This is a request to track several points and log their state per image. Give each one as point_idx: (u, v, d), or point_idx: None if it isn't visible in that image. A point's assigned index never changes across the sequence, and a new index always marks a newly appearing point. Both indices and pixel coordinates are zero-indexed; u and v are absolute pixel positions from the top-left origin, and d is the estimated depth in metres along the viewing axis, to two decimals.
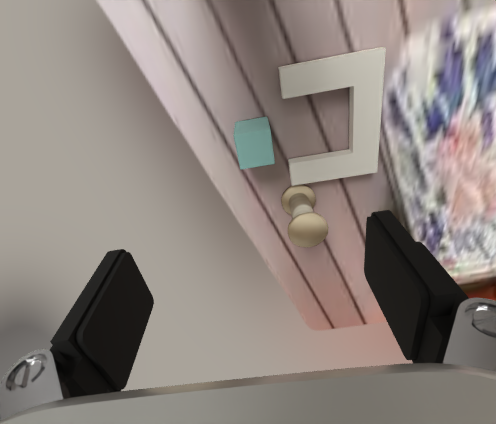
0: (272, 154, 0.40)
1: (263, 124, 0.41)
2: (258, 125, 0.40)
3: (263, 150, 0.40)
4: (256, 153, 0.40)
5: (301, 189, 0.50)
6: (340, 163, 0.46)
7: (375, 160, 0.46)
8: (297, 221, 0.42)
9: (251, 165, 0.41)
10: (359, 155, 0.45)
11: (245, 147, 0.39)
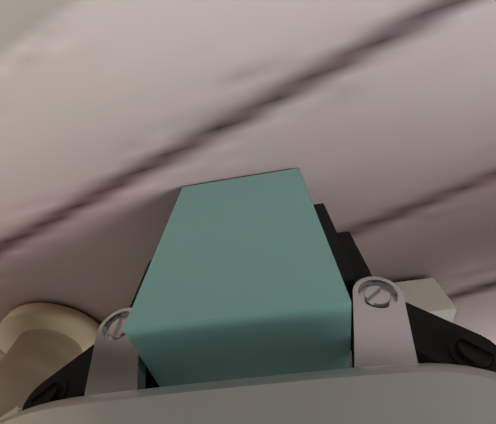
0: None
1: None
2: None
3: None
4: None
5: None
6: None
7: None
8: None
9: (162, 367, 0.07)
10: None
11: (268, 349, 0.07)
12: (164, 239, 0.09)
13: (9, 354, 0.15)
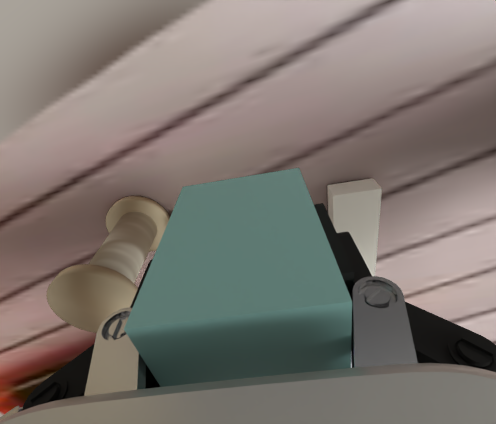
0: None
1: None
2: None
3: None
4: None
5: (164, 229, 0.27)
6: None
7: None
8: (115, 286, 0.18)
9: (162, 367, 0.07)
10: None
11: (269, 349, 0.07)
12: (164, 239, 0.09)
13: (120, 221, 0.25)
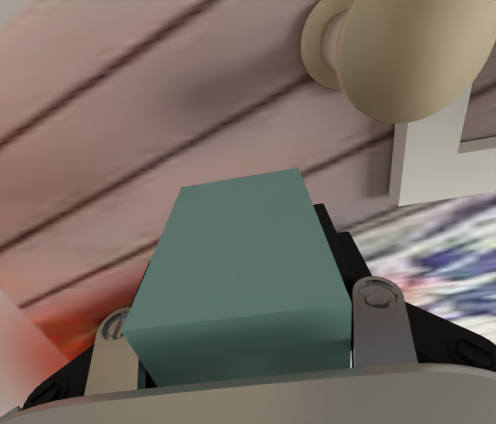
0: None
1: None
2: None
3: None
4: None
5: None
6: (442, 132, 0.21)
7: (425, 198, 0.24)
8: None
9: (160, 369, 0.07)
10: (447, 167, 0.23)
11: (268, 351, 0.07)
12: (163, 240, 0.09)
13: (347, 10, 0.17)
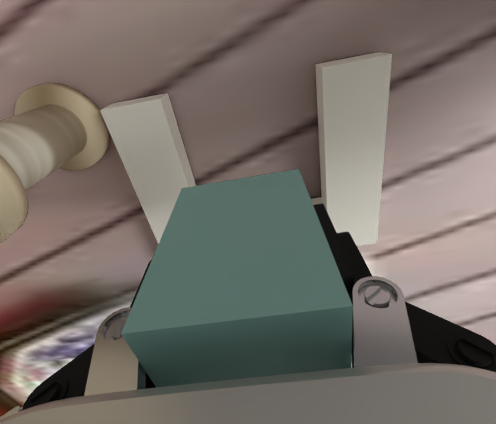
0: None
1: None
2: None
3: None
4: None
5: (96, 134, 0.20)
6: None
7: None
8: None
9: (161, 372, 0.07)
10: None
11: (268, 354, 0.07)
12: (163, 241, 0.09)
13: (27, 111, 0.18)
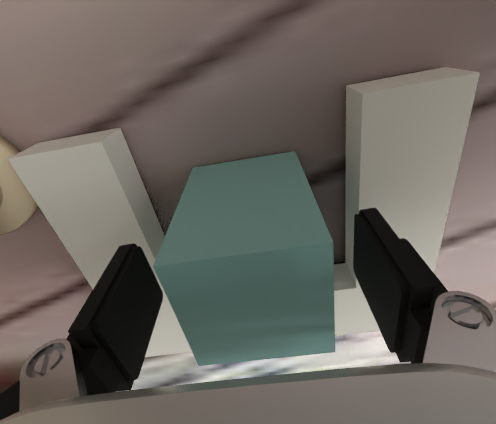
0: (236, 359, 0.10)
1: None
2: None
3: (251, 337, 0.10)
4: (237, 318, 0.09)
5: (15, 188, 0.14)
6: None
7: (167, 351, 0.18)
8: None
9: (181, 303, 0.09)
10: (174, 323, 0.17)
11: (268, 286, 0.08)
12: (180, 206, 0.11)
13: None
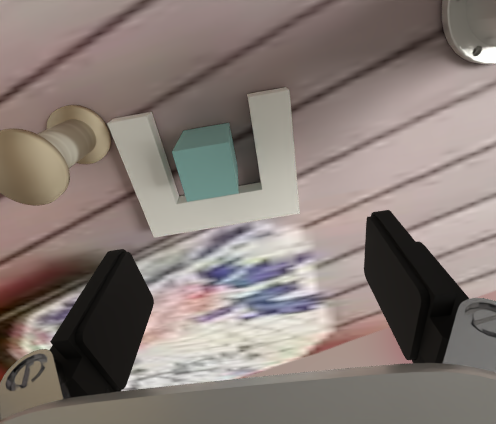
0: (201, 197, 0.27)
1: (236, 174, 0.29)
2: (235, 168, 0.28)
3: (206, 185, 0.27)
4: (200, 175, 0.26)
5: (102, 139, 0.30)
6: (159, 191, 0.32)
7: (170, 232, 0.35)
8: (39, 147, 0.21)
9: (181, 168, 0.26)
10: (174, 212, 0.33)
11: (210, 160, 0.25)
12: (179, 140, 0.28)
13: None
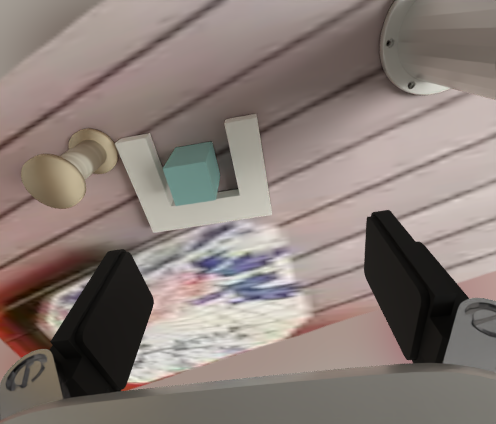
0: (186, 203, 0.35)
1: (216, 183, 0.36)
2: (214, 179, 0.36)
3: (190, 193, 0.34)
4: (185, 186, 0.33)
5: (111, 154, 0.38)
6: (156, 196, 0.40)
7: (166, 228, 0.43)
8: (64, 167, 0.29)
9: (169, 180, 0.33)
10: (169, 213, 0.41)
11: (192, 175, 0.33)
12: (170, 157, 0.35)
13: (77, 144, 0.36)
